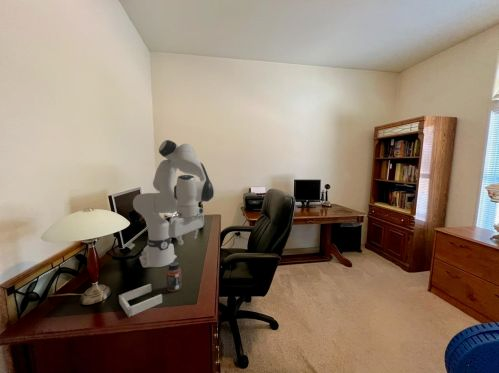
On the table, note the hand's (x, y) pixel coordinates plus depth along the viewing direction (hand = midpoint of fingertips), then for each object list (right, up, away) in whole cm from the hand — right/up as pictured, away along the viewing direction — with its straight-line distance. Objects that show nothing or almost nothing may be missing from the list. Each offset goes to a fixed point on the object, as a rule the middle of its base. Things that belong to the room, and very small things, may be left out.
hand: (187, 241), depth 99 cm
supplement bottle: (-5, -20, -3) cm, 21 cm away
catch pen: (-15, -21, -13) cm, 29 cm away
